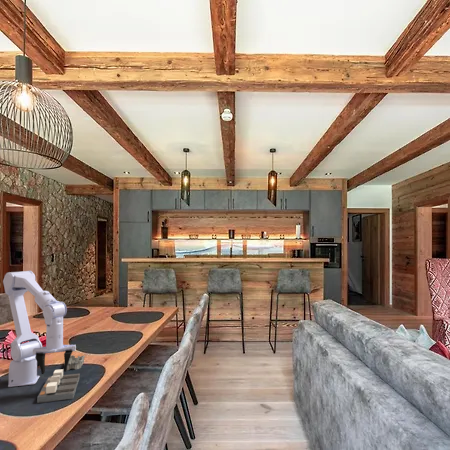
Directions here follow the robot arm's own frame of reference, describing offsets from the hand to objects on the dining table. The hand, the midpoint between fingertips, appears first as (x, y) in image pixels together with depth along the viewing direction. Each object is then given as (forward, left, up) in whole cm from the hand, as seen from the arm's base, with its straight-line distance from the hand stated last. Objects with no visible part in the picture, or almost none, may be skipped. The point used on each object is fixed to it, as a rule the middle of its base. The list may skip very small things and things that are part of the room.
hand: (54, 371), depth 133 cm
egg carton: (+4, +26, -7) cm, 27 cm away
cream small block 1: (0, 0, -4) cm, 5 cm away
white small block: (0, +7, -5) cm, 8 cm away
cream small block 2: (0, -6, -5) cm, 8 cm away
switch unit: (+2, 0, -7) cm, 7 cm away
